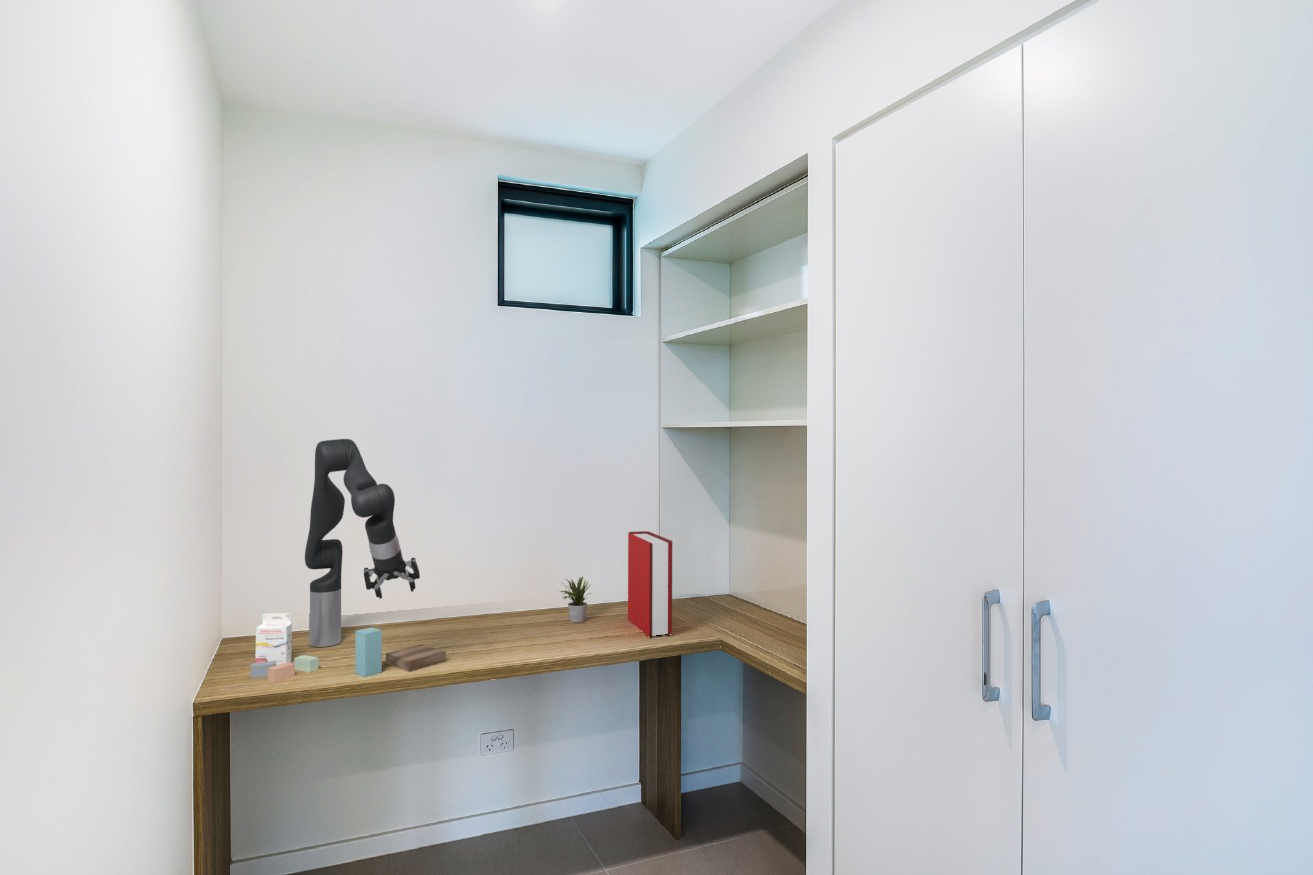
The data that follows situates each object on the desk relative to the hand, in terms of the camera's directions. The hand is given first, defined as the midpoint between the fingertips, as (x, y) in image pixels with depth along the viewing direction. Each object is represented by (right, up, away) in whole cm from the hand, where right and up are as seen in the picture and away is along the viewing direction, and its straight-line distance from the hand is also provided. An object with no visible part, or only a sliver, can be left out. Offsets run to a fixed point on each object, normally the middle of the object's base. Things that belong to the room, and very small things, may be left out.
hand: (396, 593), depth 208 cm
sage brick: (-26, -22, +2) cm, 35 cm away
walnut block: (+3, -22, +9) cm, 24 cm away
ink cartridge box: (-38, -22, +5) cm, 44 cm away
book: (+71, -23, +50) cm, 89 cm away
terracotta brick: (-30, -22, -6) cm, 38 cm away
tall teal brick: (-7, -22, -1) cm, 23 cm away
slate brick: (-36, -22, -4) cm, 42 cm away
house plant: (+44, -23, +60) cm, 78 cm away
